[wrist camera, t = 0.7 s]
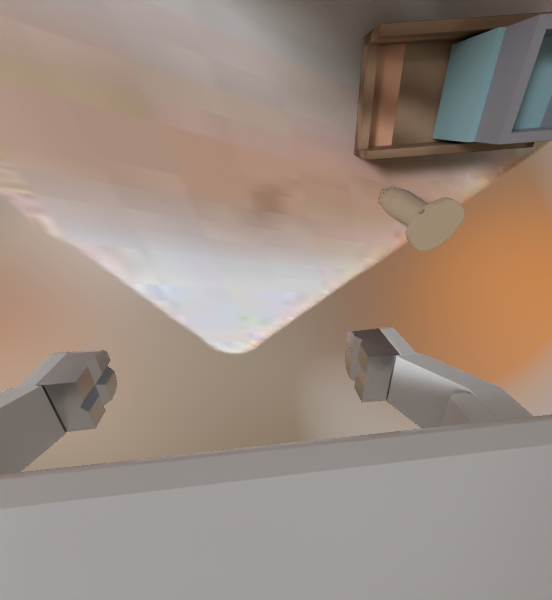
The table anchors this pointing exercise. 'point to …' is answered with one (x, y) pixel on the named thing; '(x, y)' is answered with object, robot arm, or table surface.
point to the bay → (413, 86)
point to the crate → (499, 86)
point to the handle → (423, 217)
